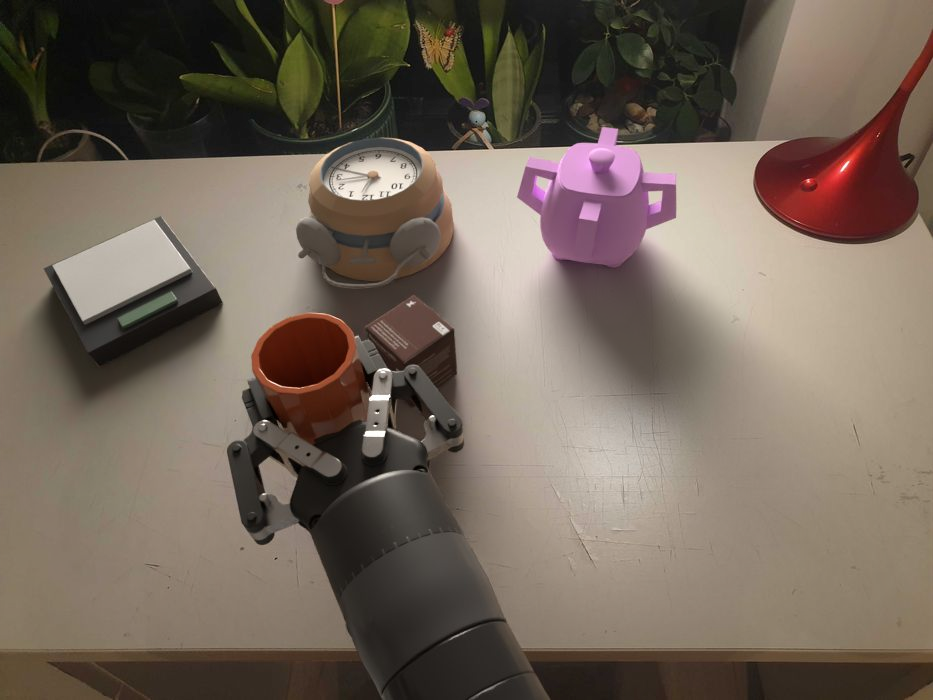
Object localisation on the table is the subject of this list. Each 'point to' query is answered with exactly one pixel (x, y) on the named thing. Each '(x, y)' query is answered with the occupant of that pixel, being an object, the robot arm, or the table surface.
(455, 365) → the box
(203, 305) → the scale
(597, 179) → the pot
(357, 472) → the robot arm
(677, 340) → the table surface
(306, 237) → the alarm clock
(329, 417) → the cup
